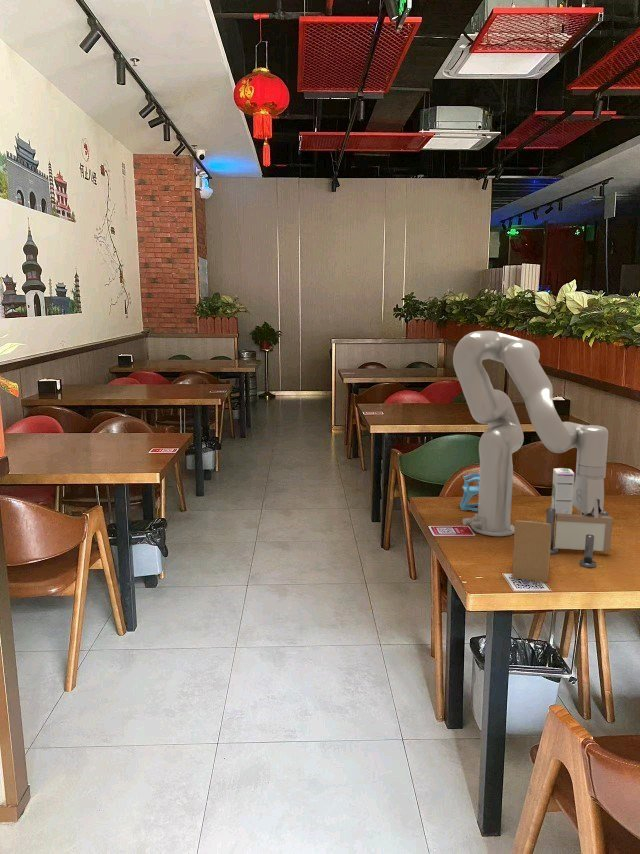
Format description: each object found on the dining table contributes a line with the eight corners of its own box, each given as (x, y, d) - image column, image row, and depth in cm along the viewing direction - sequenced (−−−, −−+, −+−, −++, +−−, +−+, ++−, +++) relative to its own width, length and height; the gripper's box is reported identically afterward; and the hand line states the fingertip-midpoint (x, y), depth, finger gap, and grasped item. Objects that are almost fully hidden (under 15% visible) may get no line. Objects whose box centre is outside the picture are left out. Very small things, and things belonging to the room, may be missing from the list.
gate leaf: (555, 548, 177) (557, 515, 176) (553, 546, 179) (556, 513, 178) (610, 551, 175) (613, 518, 174) (608, 549, 177) (610, 516, 176)
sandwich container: (549, 561, 172) (553, 506, 170) (547, 583, 158) (552, 524, 156) (516, 556, 175) (519, 503, 173) (511, 577, 161) (514, 519, 159)
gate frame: (569, 570, 166) (573, 525, 163) (535, 548, 181) (538, 507, 178) (641, 562, 171) (645, 519, 169) (601, 542, 186) (605, 502, 184)
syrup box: (572, 516, 210) (575, 472, 207) (553, 515, 210) (556, 471, 208) (568, 511, 215) (571, 468, 213) (550, 510, 216) (553, 467, 213)
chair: (458, 505, 221) (459, 471, 219) (483, 505, 221) (484, 471, 219) (462, 512, 213) (463, 476, 211) (487, 512, 213) (489, 477, 211)
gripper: (566, 464, 185) (562, 526, 188) (588, 477, 170) (584, 544, 173) (592, 464, 185) (588, 526, 188) (617, 477, 170) (612, 544, 173)
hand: (586, 534), depth 181 cm, fingers closed
